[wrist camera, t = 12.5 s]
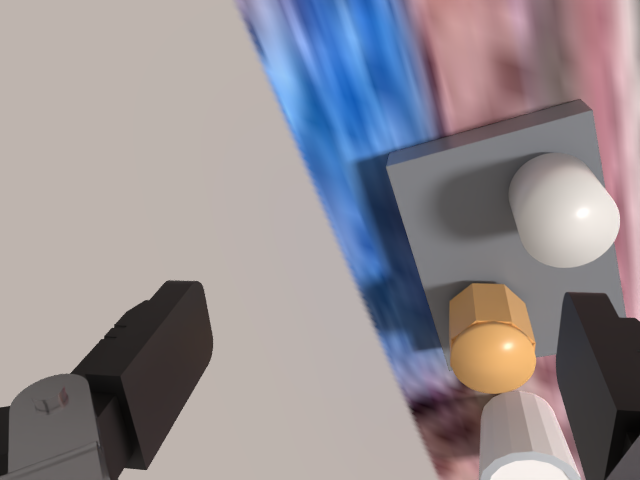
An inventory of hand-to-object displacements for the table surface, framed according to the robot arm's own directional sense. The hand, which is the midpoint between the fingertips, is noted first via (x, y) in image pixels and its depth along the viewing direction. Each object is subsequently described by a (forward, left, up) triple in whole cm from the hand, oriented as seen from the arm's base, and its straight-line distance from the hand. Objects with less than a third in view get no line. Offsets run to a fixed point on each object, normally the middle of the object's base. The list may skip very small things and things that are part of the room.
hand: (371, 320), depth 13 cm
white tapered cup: (+26, +8, -26) cm, 38 cm away
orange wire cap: (+14, +5, -22) cm, 27 cm away
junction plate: (+10, +6, -26) cm, 29 cm away
